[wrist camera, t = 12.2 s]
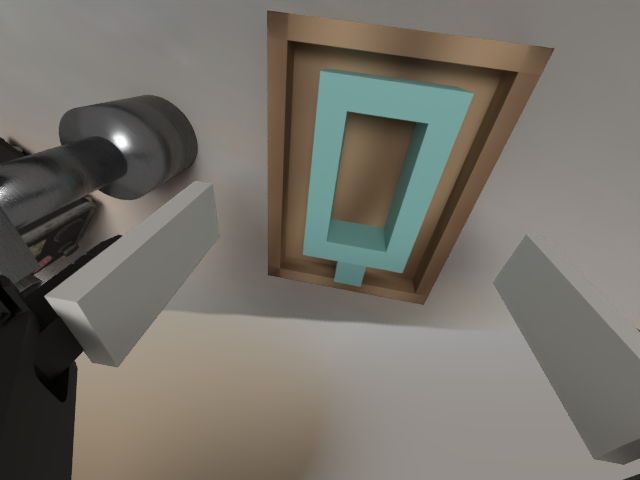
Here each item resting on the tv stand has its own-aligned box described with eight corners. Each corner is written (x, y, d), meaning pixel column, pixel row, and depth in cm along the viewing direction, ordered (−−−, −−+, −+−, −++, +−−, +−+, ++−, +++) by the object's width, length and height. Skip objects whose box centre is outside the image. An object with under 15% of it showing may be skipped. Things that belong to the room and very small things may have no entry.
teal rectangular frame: (328, 68, 15) (320, 71, 12) (456, 86, 14) (474, 93, 12) (308, 251, 22) (300, 275, 20) (391, 266, 22) (394, 293, 19)
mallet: (138, 167, 21) (-69, 269, 11) (115, 87, 18) (-209, 129, 8) (202, 178, 21) (47, 293, 11) (190, 98, 17) (-49, 158, 7)
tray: (275, 258, 24) (268, 275, 22) (280, 15, 14) (267, 10, 12) (419, 285, 23) (423, 304, 22) (530, 49, 13) (554, 48, 12)
